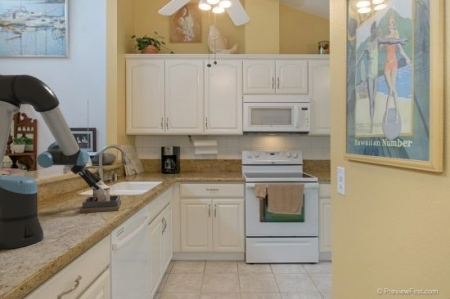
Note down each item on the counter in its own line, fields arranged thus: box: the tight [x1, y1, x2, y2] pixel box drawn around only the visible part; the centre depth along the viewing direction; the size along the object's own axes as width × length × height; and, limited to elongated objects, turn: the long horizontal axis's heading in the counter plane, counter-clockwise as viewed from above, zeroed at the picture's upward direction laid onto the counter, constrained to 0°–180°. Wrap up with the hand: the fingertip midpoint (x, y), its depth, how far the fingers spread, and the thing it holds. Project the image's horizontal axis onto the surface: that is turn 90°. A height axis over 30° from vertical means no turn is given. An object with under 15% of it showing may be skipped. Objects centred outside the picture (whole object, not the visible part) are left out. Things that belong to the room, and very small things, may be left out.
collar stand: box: [80, 194, 122, 214], centre depth 156 cm, size 20×18×5 cm
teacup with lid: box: [91, 182, 111, 202], centre depth 156 cm, size 12×9×12 cm
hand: (105, 191), depth 156 cm, fingers open, 13 cm apart
